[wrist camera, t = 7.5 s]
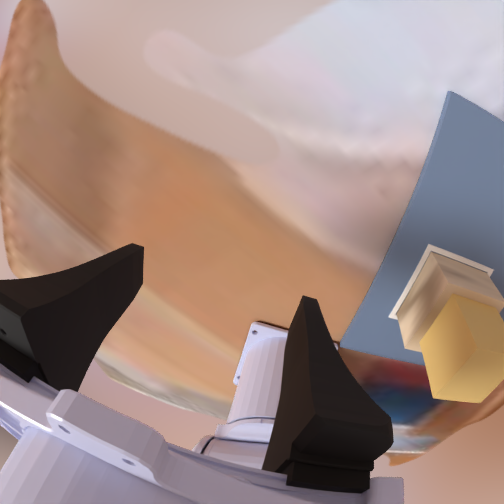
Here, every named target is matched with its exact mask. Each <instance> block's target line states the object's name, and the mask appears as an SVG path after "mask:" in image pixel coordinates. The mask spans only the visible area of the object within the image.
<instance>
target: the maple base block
mask: <svg viewBox="0 0 504 504" xmlns="http://www.w3.org/2000/svg"><path fill="white" fill-rule="evenodd" d="M452 293H453V294H456V295H459V296H462V297H465V298H468V299H471V300H474V301H477V302H480V303H483V304H486V305H489V306H492V307H495V308H496V309H497V311H498V312H499V313H500V312H501V310H502V309H503V307H504V298H503V297H502V295H501V294H500V292H499V290H498V289H497V287H496V286H495V284H494V283H493V281H492V280H491V279H490V277H489V276H488V274H487V273H486V272H483V271H481V270H478V269H476V268H473V267H471V266H468V265H465V264H463V263H460V262H458V261H455V260H452V259H450V258H447V257H444V256H442V255H439V254H436V253H434V252H431V253H430V255H429V257H428V258H427V260H426V262H425V264H424V266H423V268H422V270H421V272H420V273H419V275H418V277H417V279H416V281H415V283H414V284H413V286H412V288H411V290H410V291H409V293H408V295H407V297H406V298H405V300H404V302H403V303H402V305H401V307H400V308H399V310H398V312H397V313H396V314H397V318H398V322H399V326H400V330H401V334H402V339H403V343H404V347H405V349H409V350H413V351H418V352H422V350H421V347H420V343H419V342H420V341H421V339H422V338H423V337H424V335H425V334H426V332H427V331H428V330H429V328H430V327H431V325H432V324H433V322H434V321H435V319H436V318H437V316H438V315H439V313H440V312H441V310H442V309H443V307H444V306H445V304H446V303H447V301H448V300H449V298H450V296H451V295H452Z"/></svg>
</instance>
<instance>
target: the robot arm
mask: <svg viewBox="0 0 504 504" xmlns="http://www.w3.org/2000/svg"><path fill="white" fill-rule="evenodd" d="M143 259H144V247H142V246H139V245H136V244H133V243H132V244H129V245H126V246H124V247H122V248H119V249H117V250H115V251H112V252H110V253H108V254H106V255H103V256H101V257H99V258H96V259H94V260H91V261H89V262H86V263H84V264H81V265H79V266H76V267H73V268H70V269H67V270H64V271H60V272H56V273H52V274H48V275H43V276H38V277H32V278H24V279H13V280H0V425H1V426H2V427H3V428H5V429H6V430H7V431H8V432H9V433H10V434H12V435H13V436H14V437H15V438H17V439H18V440H19V442H18V443H17V445H16V447H15V448H14V450H13V451H12V453H11V454H10V456H9V458H8V460H7V461H6V463H5V464H4V466H3V468H2V470H1V471H0V504H404V482H403V478H401V477H374V478H371V479H370V471H372V470H373V469H374V460H376V459H377V458H378V457H379V456H381V455H382V454H383V453H385V452H386V451H387V450H388V449H389V448H390V447H391V446H392V444H393V442H394V441H393V428H392V422H391V417H390V416H389V415H388V414H386V413H385V412H384V411H383V410H382V409H381V408H380V407H379V406H378V405H377V404H376V403H375V402H374V401H373V400H372V399H371V398H370V397H369V396H368V394H367V393H366V392H365V391H364V390H363V389H362V387H361V386H360V385H359V384H358V382H357V381H356V380H355V378H354V377H353V376H352V374H351V373H350V371H349V370H348V368H347V367H346V365H345V363H344V362H343V360H342V358H341V356H340V355H339V353H338V345H337V344H336V343H334V342H333V340H332V338H331V336H330V333H329V331H328V329H327V326H326V324H325V321H324V318H323V315H322V313H321V310H320V307H319V304H318V301H317V299H314V298H310V297H307V296H302V299H301V301H300V304H299V306H298V309H297V311H296V313H295V316H294V318H293V321H292V323H291V325H290V328H289V331H288V330H284V329H281V328H277V327H274V326H270V325H267V324H263V323H260V322H253V323H252V324H251V327H250V330H249V333H248V337H247V340H246V343H245V346H244V349H243V352H242V355H241V358H240V362H239V365H238V368H237V371H236V374H235V377H234V380H233V383H234V384H235V385H238V386H237V389H236V393H235V396H234V399H233V403H232V406H231V410H230V413H229V417H228V420H227V423H226V424H218V426H217V429H216V432H215V435H214V436H213V435H208V436H205V437H203V438H202V439H201V440H200V441H199V442H198V443H197V444H196V445H195V446H194V447H193V449H192V450H188V449H185V448H182V447H179V446H176V445H173V444H171V443H168V442H166V441H165V439H164V437H163V436H162V435H161V434H160V433H158V432H157V431H155V430H154V429H153V428H152V427H149V426H148V425H146V424H144V423H142V422H140V421H138V420H135V419H133V418H131V417H128V416H126V415H124V414H122V413H120V412H117V411H115V410H113V409H111V408H109V407H107V406H104V405H103V404H101V403H98V402H96V401H94V400H92V399H90V398H88V397H87V396H85V395H82V394H81V393H79V392H78V390H79V387H80V385H81V383H82V381H83V378H84V376H85V374H86V371H87V370H88V368H89V366H90V363H91V362H92V360H93V358H94V356H95V354H96V352H97V350H98V349H99V347H100V345H101V343H102V342H103V340H104V338H105V337H106V335H107V334H108V332H109V331H110V330H111V329H112V327H113V326H114V325H115V323H116V322H117V321H118V319H119V318H120V317H121V315H122V314H123V313H124V312H125V310H126V309H127V308H128V306H129V305H130V304H131V302H132V301H133V300H134V298H135V296H136V294H137V293H138V291H139V289H140V287H141V286H142V284H143ZM254 330H256V331H257V332H255V331H254Z"/></svg>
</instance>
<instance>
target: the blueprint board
mask: <svg viewBox="0 0 504 504" xmlns="http://www.w3.org/2000/svg"><path fill="white" fill-rule="evenodd" d="M431 252H434V253H436V254H439V255H442V256H444V257H447V258H450V259H452V260H455V261H458V262H460V263H463V264H465V265H468V266H471V267H473V268H476V269H478V270H481V271H483V272H486V273H487V274H488V276H489V277H490V279H491V280H492V281H493V283H494V284H495V286H496V287H497V289H498V290H499V292H500V294H501V295H502V297H503V298H504V122H503V121H501V120H500V119H498V118H497V117H495V116H494V115H492V114H490V113H489V112H487V111H486V110H484V109H482V108H481V107H479V106H477V105H475V104H474V103H472V102H470V101H469V100H467V99H465V98H463V97H461V96H460V95H458V94H456V93H454V92H452V91H448V93H447V96H446V100H445V103H444V107H443V110H442V113H441V117H440V120H439V123H438V126H437V129H436V132H435V135H434V138H433V141H432V144H431V147H430V150H429V153H428V156H427V158H426V161H425V164H424V166H423V169H422V172H421V174H420V177H419V180H418V182H417V185H416V187H415V190H414V192H413V195H412V197H411V200H410V202H409V205H408V207H407V209H406V212H405V214H404V216H403V219H402V221H401V223H400V226H399V228H398V230H397V232H396V235H395V237H394V239H393V241H392V243H391V246H390V248H389V250H388V252H387V254H386V256H385V258H384V260H383V262H382V264H381V266H380V269H379V271H378V273H377V275H376V277H375V279H374V281H373V283H372V284H371V286H370V288H369V290H368V292H367V294H366V296H365V298H364V300H363V302H362V304H361V305H360V307H359V309H358V311H357V313H356V315H355V316H354V318H353V320H352V322H351V324H350V325H349V327H348V329H347V331H346V333H345V334H344V336H343V338H342V339H341V341H340V347H342V348H346V349H351V350H355V351H359V352H363V353H368V354H372V355H377V356H381V357H386V358H390V359H395V360H400V361H404V362H409V363H414V364H419V365H424V366H425V362H424V358H423V354H422V352H418V351H413V350H409V349H405V347H404V343H403V339H402V334H401V330H400V326H399V322H398V318H397V314H396V313H397V312H398V310H399V308H400V307H401V305H402V303H403V302H404V300H405V298H406V297H407V295H408V293H409V291H410V290H411V288H412V286H413V284H414V283H415V281H416V279H417V277H418V275H419V273H420V272H421V270H422V268H423V266H424V264H425V262H426V260H427V258H428V257H429V255H430V253H431ZM499 314H500V316H501V318H502V319H503V321H504V307H503V309H502V310H501V312H500V313H499Z"/></svg>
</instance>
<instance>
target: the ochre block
mask: <svg viewBox="0 0 504 504" xmlns="http://www.w3.org/2000/svg"><path fill="white" fill-rule="evenodd" d="M419 343H420V347H421V350H422V354H423V358H424V362H425V366H426V370H427V374H428V378H429V383H430V387H431V392H432V396H433V398H435V399H443V400H452V401H461V402H472V403H481V402H482V401H483V400H484V399H485V398H486V397H487V396H488V395H489V394H490V393H491V392H492V391H493V390H494V389H495V388H496V387H497V386H498V385H499V384H500V382H501V381H502V380H503V379H504V321H503V319H502V318H501V316H500V314H499V312H498V311H497V309H496V308H495V307H492V306H489V305H486V304H483V303H480V302H477V301H474V300H471V299H468V298H465V297H462V296H459V295H456V294H453V293H452V295H451V296H450V298H449V300H448V301H447V303H446V304H445V306H444V307H443V309H442V310H441V312H440V313H439V315H438V316H437V318H436V319H435V321H434V322H433V324H432V325H431V327H430V328H429V330H428V331H427V332H426V334H425V335H424V337H423V338H422V339H421V341H420V342H419Z"/></svg>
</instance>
